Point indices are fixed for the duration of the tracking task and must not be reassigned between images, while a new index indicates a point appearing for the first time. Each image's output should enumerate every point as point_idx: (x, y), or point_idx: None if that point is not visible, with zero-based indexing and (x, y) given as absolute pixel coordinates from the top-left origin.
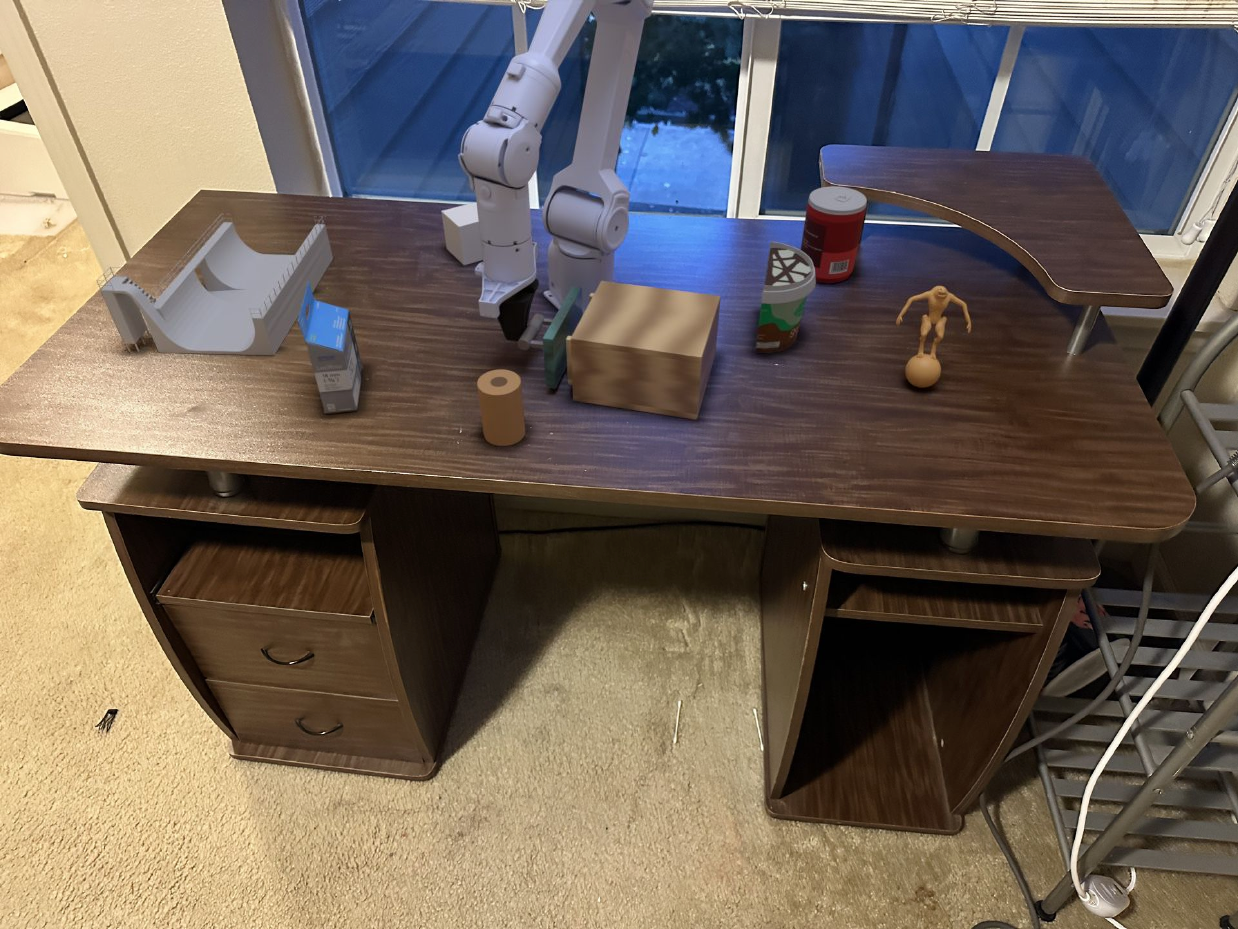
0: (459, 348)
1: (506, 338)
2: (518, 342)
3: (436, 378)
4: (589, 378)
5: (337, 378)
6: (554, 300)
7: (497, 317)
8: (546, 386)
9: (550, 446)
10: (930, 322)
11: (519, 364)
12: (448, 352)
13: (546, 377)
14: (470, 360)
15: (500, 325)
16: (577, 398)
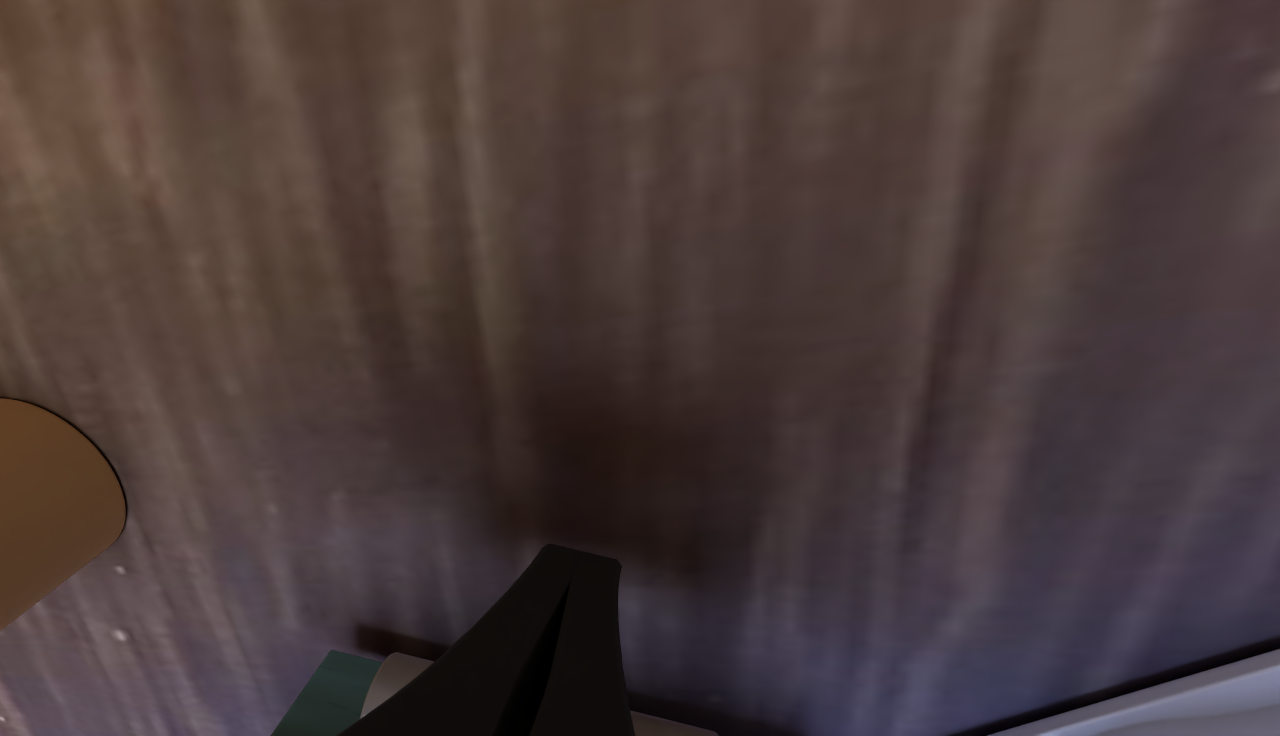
0: (698, 123)
1: (538, 555)
2: (370, 685)
3: (319, 34)
4: None
5: None
6: (1252, 688)
7: (422, 676)
8: (329, 654)
9: (53, 631)
10: None
11: (557, 507)
12: (639, 45)
13: (297, 701)
14: (559, 231)
15: (491, 610)
16: None
